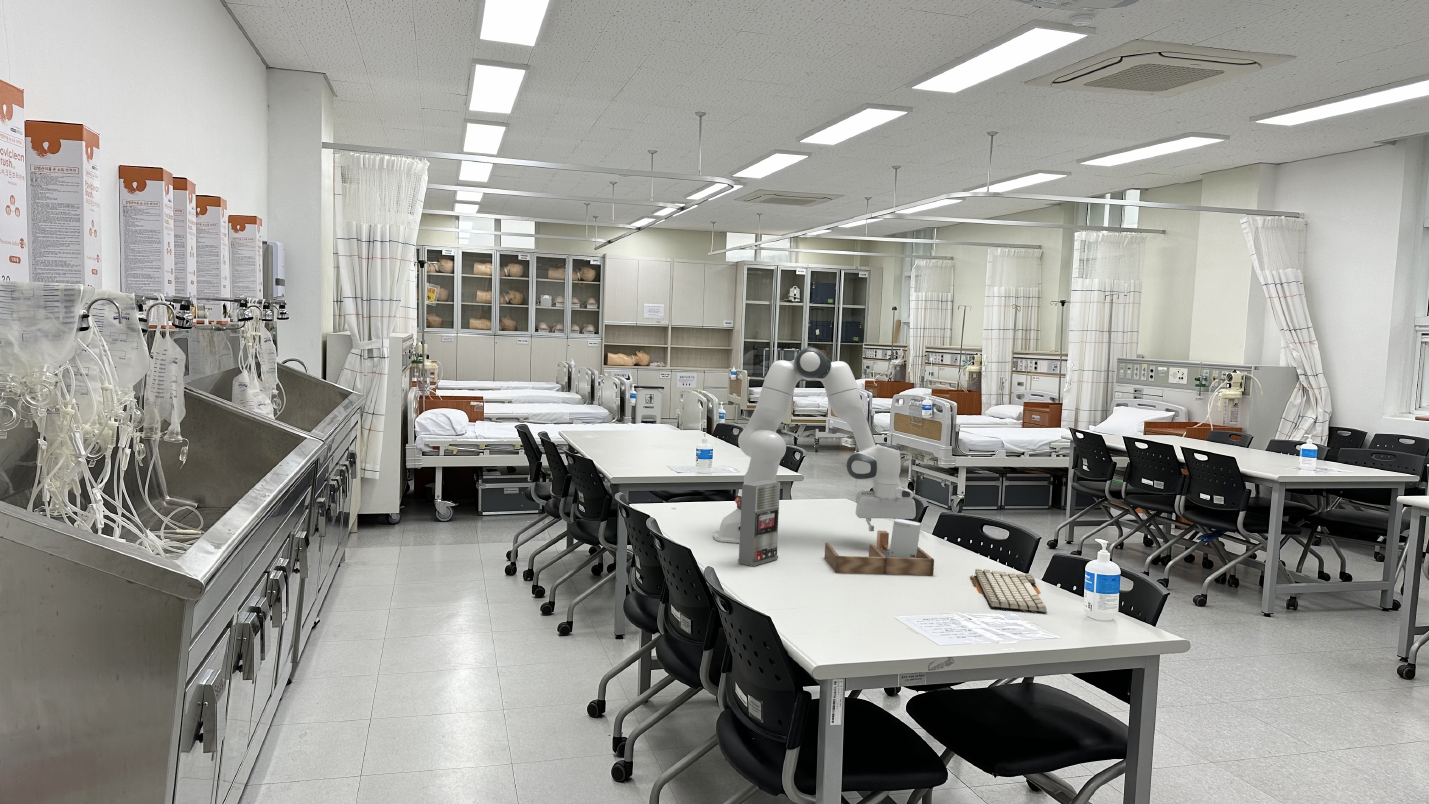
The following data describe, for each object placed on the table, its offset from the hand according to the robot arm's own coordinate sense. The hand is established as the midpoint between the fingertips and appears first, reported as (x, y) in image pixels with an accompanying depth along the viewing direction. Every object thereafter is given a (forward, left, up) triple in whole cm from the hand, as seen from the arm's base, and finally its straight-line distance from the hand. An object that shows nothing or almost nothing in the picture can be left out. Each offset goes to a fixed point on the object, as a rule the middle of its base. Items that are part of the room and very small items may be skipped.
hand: (884, 531), depth 306 cm
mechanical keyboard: (+24, -51, -8) cm, 57 cm away
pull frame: (-1, -15, -6) cm, 16 cm away
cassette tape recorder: (-46, -22, -7) cm, 51 cm away
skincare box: (-1, -25, -7) cm, 26 cm away
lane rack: (-8, -23, -7) cm, 25 cm away
